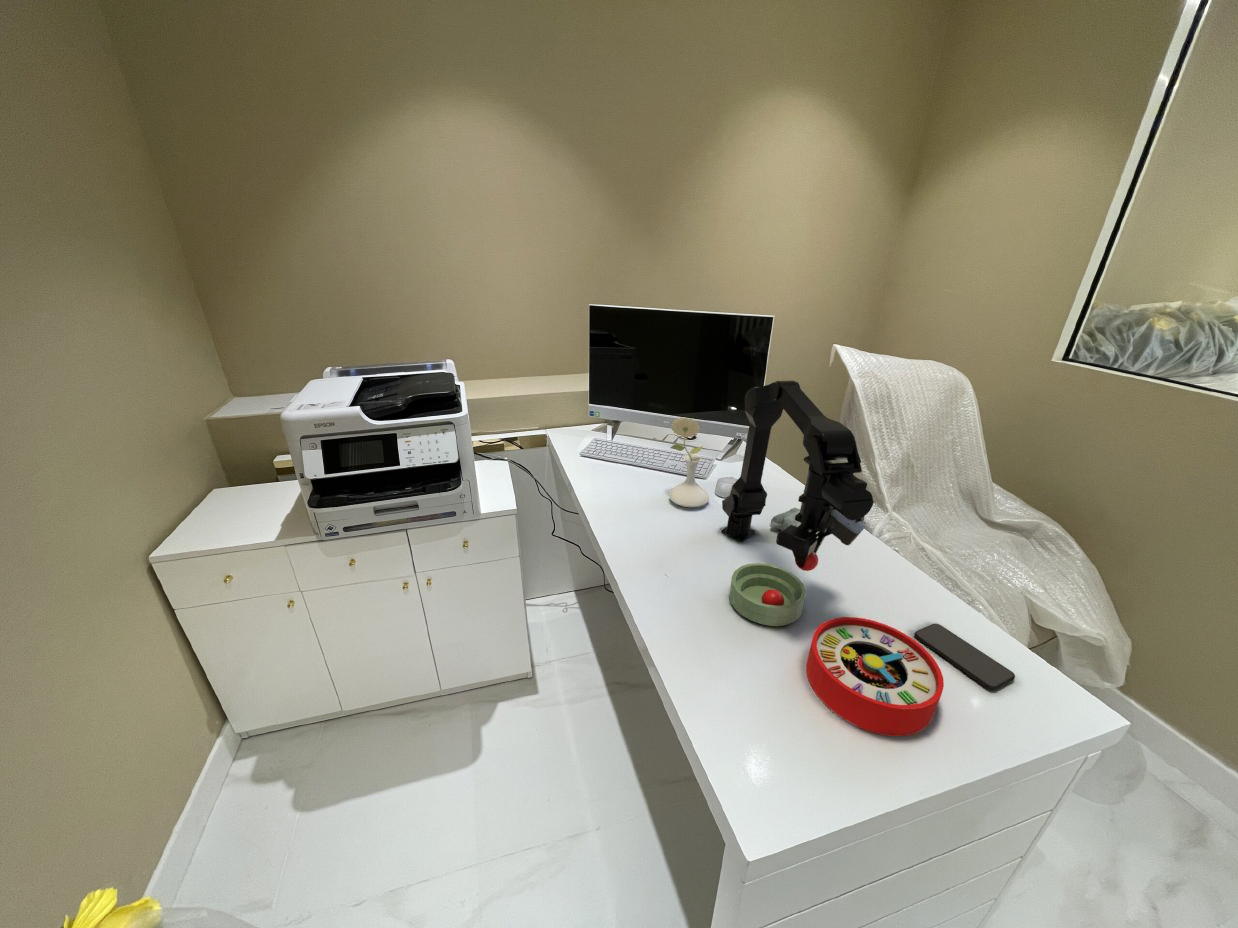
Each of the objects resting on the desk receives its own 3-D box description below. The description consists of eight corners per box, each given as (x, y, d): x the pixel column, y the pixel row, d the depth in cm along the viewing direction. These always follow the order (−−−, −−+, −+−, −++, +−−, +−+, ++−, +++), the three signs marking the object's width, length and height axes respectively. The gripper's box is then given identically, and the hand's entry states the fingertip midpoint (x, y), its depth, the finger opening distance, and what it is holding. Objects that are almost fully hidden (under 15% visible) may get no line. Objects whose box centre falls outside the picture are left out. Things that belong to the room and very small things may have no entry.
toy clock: (788, 627, 90) (879, 608, 95) (783, 652, 92) (872, 632, 98) (868, 722, 73) (974, 692, 78) (859, 749, 75) (963, 719, 80)
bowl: (752, 573, 114) (755, 555, 112) (813, 604, 105) (818, 584, 103) (715, 602, 105) (718, 583, 103) (779, 639, 95) (783, 618, 93)
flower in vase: (714, 499, 146) (724, 418, 136) (698, 515, 138) (707, 429, 127) (674, 487, 153) (680, 409, 142) (656, 502, 144) (661, 419, 134)
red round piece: (773, 581, 101) (784, 600, 98) (781, 591, 104) (792, 610, 100) (754, 592, 102) (764, 611, 99) (763, 601, 105) (772, 620, 101)
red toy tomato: (792, 560, 103) (796, 540, 101) (814, 564, 102) (819, 544, 100) (793, 573, 99) (798, 552, 97) (817, 576, 98) (822, 556, 96)
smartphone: (936, 621, 100) (1018, 674, 87) (935, 625, 100) (1016, 678, 88) (911, 632, 97) (993, 689, 84) (910, 636, 97) (991, 693, 85)
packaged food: (822, 531, 132) (826, 514, 130) (794, 545, 125) (798, 528, 123) (794, 517, 138) (797, 501, 136) (766, 530, 132) (769, 513, 130)
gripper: (844, 527, 82) (825, 603, 89) (882, 491, 95) (863, 559, 101) (781, 503, 89) (768, 575, 95) (824, 472, 102) (810, 538, 108)
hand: (805, 562), depth 100 cm, fingers closed on red toy tomato, 4 cm apart
